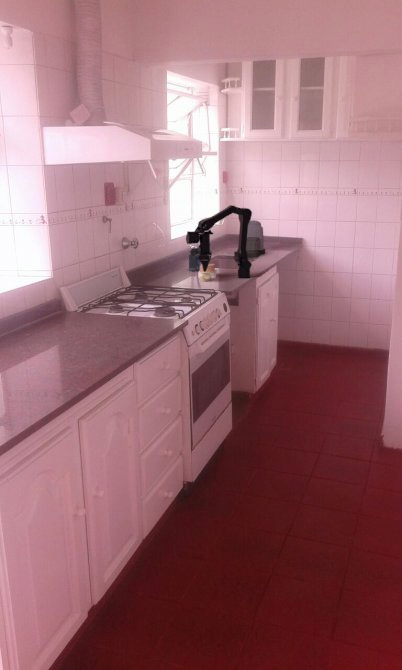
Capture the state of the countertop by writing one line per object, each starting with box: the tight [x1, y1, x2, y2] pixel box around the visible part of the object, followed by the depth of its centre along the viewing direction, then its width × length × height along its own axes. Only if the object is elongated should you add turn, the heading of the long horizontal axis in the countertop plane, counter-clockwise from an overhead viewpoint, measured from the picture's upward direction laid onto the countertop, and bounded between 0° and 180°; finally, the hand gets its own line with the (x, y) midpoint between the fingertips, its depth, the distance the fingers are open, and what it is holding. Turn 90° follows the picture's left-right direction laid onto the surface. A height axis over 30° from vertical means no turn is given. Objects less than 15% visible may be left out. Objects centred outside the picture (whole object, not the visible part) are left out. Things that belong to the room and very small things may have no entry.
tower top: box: [200, 263, 216, 272], centre depth 362 cm, size 8×8×4 cm
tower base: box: [197, 269, 218, 279], centre depth 363 cm, size 10×10×4 cm
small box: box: [188, 253, 202, 273], centre depth 383 cm, size 11×6×10 cm, turn 143°
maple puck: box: [199, 273, 212, 283], centre depth 349 cm, size 6×6×4 cm
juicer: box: [246, 219, 266, 259], centre depth 439 cm, size 30×16×24 cm, turn 166°
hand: (205, 270), depth 348 cm, fingers open, 9 cm apart
